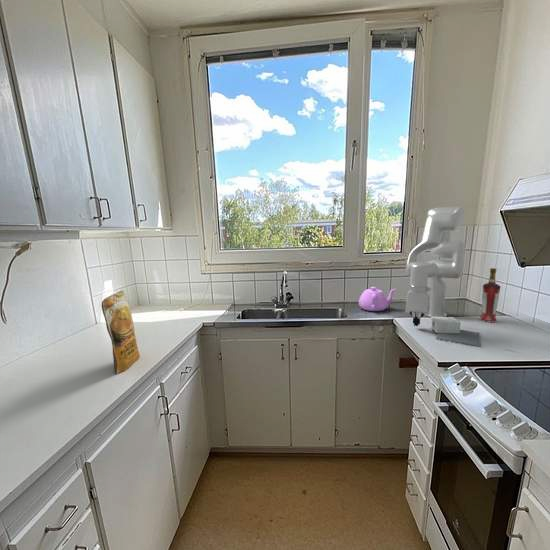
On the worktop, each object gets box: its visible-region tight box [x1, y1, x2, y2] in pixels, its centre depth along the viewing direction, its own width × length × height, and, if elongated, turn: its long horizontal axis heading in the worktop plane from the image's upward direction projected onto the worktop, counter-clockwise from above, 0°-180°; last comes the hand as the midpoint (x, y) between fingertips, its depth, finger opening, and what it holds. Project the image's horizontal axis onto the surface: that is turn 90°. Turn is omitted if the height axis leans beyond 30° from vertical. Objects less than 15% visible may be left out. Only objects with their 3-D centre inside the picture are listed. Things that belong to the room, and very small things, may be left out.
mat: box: [435, 329, 481, 348], centre depth 131 cm, size 18×16×1 cm
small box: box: [429, 316, 461, 334], centre depth 137 cm, size 8×6×10 cm
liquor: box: [480, 267, 501, 323], centre depth 150 cm, size 7×7×28 cm
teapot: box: [358, 286, 397, 312], centre depth 177 cm, size 22×22×14 cm
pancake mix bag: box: [101, 290, 141, 374], centre depth 109 cm, size 7×19×28 cm, turn 0°
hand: (416, 325), depth 142 cm, fingers closed
